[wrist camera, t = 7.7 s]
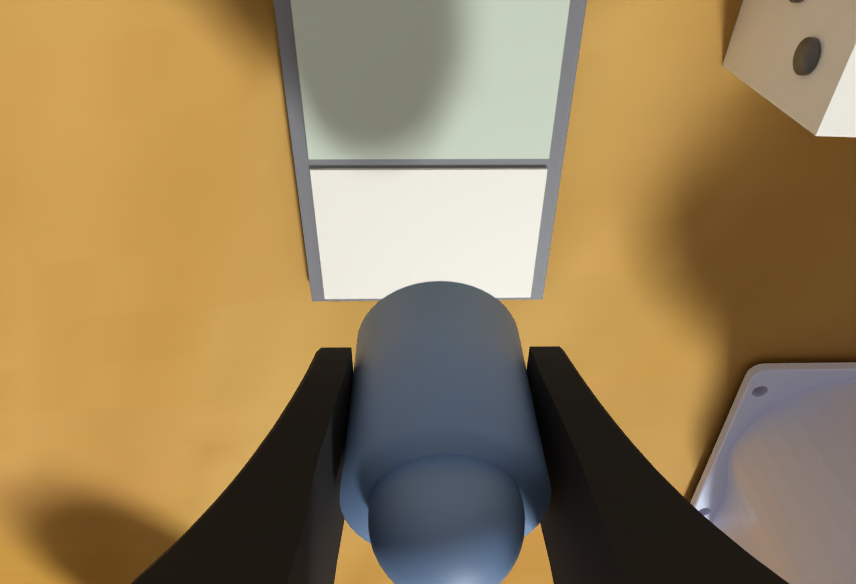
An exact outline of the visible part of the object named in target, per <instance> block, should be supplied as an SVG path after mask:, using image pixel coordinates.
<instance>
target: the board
mask: <svg viewBox="0 0 856 584" xmlns="http://www.w3.org/2000/svg"><path fill="white" fill-rule="evenodd" d="M273 3H274V11H275V18H276V26H277V34H278V42H279V49H280V57H281V65H282V72H283V80H284V88H285V96H286V103H287V111H288V119H289V126H290V134H291V142H292V150H293V157H294V165H295V173H296V180H297V188H298V196H299V204H300V211H301V219H302V227H303V234H304V242H305V250H306V258H307V265H308V273H309V281H310V288H311V296H312V301H380V300H382V299H383V298H384V297H386V296H387V295H389V294H391V293H393V292H394V291H396V290H399V289H401V288H404V287H406V286H410V285H413V284H417V283H423V282H429V281H451V282H458V283H463V284H467V285H470V286H474V287H476V288H479V289H481V290H483V291H485V292H487V293H489V294H490V295H492V296H493V297H495V298H496V299H497V300H527V299H543V293H544V286H545V279H546V273H547V266H548V259H549V252H550V246H551V239H552V232H553V225H554V219H555V212H556V205H557V198H558V192H559V185H560V178H561V171H562V165H563V158H564V151H565V144H566V138H567V131H568V124H569V117H570V111H571V104H572V97H573V90H574V84H575V77H576V70H577V63H578V57H579V50H580V43H581V36H582V30H583V23H584V16H585V9H586V3H587V0H273Z"/></svg>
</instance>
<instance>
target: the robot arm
mask: <svg viewBox="0 0 856 584" xmlns="http://www.w3.org/2000/svg"><path fill="white" fill-rule="evenodd" d="M527 376H528V380H529V385H530V390H531V394H532V399H533V404H534V409H535V413H536V418H537V423H538V428H539V432H540V437H541V442H542V446H543V451H544V456H545V461H546V465H547V470H548V475H549V480H550V485H551V501H550V505H549V508H548V510H547V512H546V514H545V516H544V518H543V519H542V520H541V522H540V524H541V528H542V532H543V536H544V540H545V545H546V549H547V553H548V557H549V561H550V566H551V571H552V577H553V582H554V584H856V362H839V363H763V364H758V365H755V366H753V367H752V368H750V369H749V370H748V372H747V373H746V375H745V377H744V379H743V382H742V384H741V386H740V389H739V391H738V393H737V396H736V398H735V400H734V403H733V405H732V407H731V409H730V412H729V414H728V416H727V419H726V421H725V423H724V426H723V428H722V430H721V433H720V435H719V437H718V440H717V442H716V444H715V447H714V449H713V451H712V454H711V456H710V458H709V460H708V463H707V465H706V467H705V470H704V472H703V474H702V477H701V479H700V481H699V484H698V486H697V488H696V491H695V493H694V495H693V498H692V500H691V502H690V503H689V502H688V501H687V500H686V499H685V498H684V497H683V496H682V495H681V494H680V493H679V492H678V491H677V490H676V489H675V488H674V487H673V486H672V485H671V484H670V483H669V482H668V481H667V480H666V479H665V478H664V477H663V476H662V475H661V474H660V473H659V472H658V471H657V470H656V469H655V468H654V467H653V465H652V464H651V463H650V462H649V461H648V460H647V459H646V458H645V457H644V456H643V454H642V453H641V452H640V451H639V450H638V449H637V448H636V446H635V445H634V444H633V443H632V442H631V441H630V440H629V438H628V437H627V436H626V435H625V434H624V432H623V431H622V430H621V429H620V428H619V426H618V425H617V424H616V422H615V421H614V420H613V419H612V417H611V416H610V415H609V414H608V412H607V411H606V410H605V409H604V407H603V406H602V405H601V403H600V402H599V401H598V399H597V398H596V397H595V395H594V394H593V393H592V391H591V390H590V388H589V387H588V386H587V384H586V383H585V381H584V380H583V379H582V377H581V376H580V374H579V373H578V371H577V370H576V368H575V367H574V365H573V364H572V362H571V361H570V359H569V358H568V356H567V355H566V353H565V352H564V350H563V349H562V348H561V347H530V350H529V357H528V364H527ZM352 382H353V363H352V351H351V348H320V349H319V350H318V351H317V352H316V354H315V356H314V358H313V360H312V362H311V364H310V366H309V368H308V370H307V372H306V374H305V376H304V378H303V380H302V381H301V383H300V385H299V387H298V388H297V390H296V392H295V393H294V395H293V397H292V398H291V400H290V402H289V403H288V405H287V406H286V408H285V409H284V411H283V413H282V414H281V416H280V417H279V419H278V420H277V422H276V423H275V425H274V426H273V428H272V429H271V431H270V432H269V434H268V435H267V436H266V438H265V439H264V440H263V442H262V443H261V445H260V446H259V447H258V449H257V450H256V452H255V453H254V454H253V456H252V457H251V458H250V460H249V461H248V462H247V464H246V465H245V466H244V467H243V469H242V470H241V471H240V472H239V474H238V475H237V476H236V477H235V479H234V480H233V481H232V482H231V483H230V485H229V486H228V487H227V488H226V489H225V490H224V492H223V493H222V494H221V495H220V496H219V497H218V499H217V500H216V501H215V502H214V503H213V504H212V505H211V506H210V507H209V508H208V509H207V510H206V512H205V513H204V514H203V515H202V516H201V517H200V518H199V519H198V520H197V521H196V522H195V523H194V524H193V525H192V526H191V528H190V529H189V530H188V531H187V532H186V533H185V534H184V535H183V536H182V537H181V538H180V539H179V540H178V541H177V542H175V543H174V544H173V545H172V546H171V547H170V548H169V549H168V550H167V551H166V552H165V553H164V554H163V555H162V556H160V557H159V558H158V559H157V560H156V561H155V562H154V563H153V564H152V565H151V566H149V567H148V568H147V569H146V570H145V571H144V572H143V573H142V574H141V575H140V576H139V577H137V578H136V579H135V580H134V581H133V582H132V583H131V584H334V580H335V572H336V565H337V559H338V553H339V547H340V542H341V536H342V530H343V525H344V519H345V518H344V516H343V513H342V511H341V507H340V487H341V478H342V469H343V460H344V451H345V443H346V434H347V425H348V416H349V408H350V399H351V390H352Z"/></svg>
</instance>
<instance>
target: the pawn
mask: <svg viewBox="0 0 856 584" xmlns="http://www.w3.org/2000/svg"><path fill="white" fill-rule="evenodd" d="M550 501H551V485H550V480H549V475H548V470H547V465H546V461H545V456H544V451H543V446H542V442H541V437H540V432H539V428H538V423H537V418H536V413H535V409H534V404H533V399H532V394H531V390H530V385H529V380H528V376H527V371H526V366H525V361H524V357H523V352H522V347H521V342H520V338H519V333H518V329H517V326H516V323H515V321H514V319H513V317H512V315H511V314H510V312H509V311H508V310H507V308H506V307H505V306H504V305H503V304H502V303H501V302H500V301H499V300H497V299H496V298H495V297H493V296H492V295H490V294H489V293H487V292H485V291H483V290H481V289H479V288H476V287H474V286H470V285H467V284H463V283H458V282H451V281H429V282H423V283H417V284H413V285H410V286H406V287H404V288H401V289H399V290H396V291H394V292H393V293H391V294H389V295H387V296H386V297H384V298H383V299H382V300H380V301H379V302H378V303H377V304H376V305H375V306H374V307H373V308H372V309H371V310H370V311H369V312H368V314H367V315H366V316H365V318H364V320H363V322H362V324H361V326H360V329H359V332H358V338H357V346H356V355H355V363H354V372H353V382H352V390H351V399H350V408H349V416H348V425H347V434H346V443H345V451H344V460H343V469H342V478H341V487H340V507H341V511H342V513H343V516H344V518H345V520H346V521H347V523H348V524H349V525H350V527H351V528H352V529H353V530H354V531H355V532H356V533H357V534H358V535H359V536H361V537H362V538H363V539H364V540H366V541H368V542H369V543H371V545H372V548H373V551H374V554H375V556H376V558H377V560H378V562H379V564H380V566H381V567H382V569H383V570H384V572H385V573H386V574H387V576H388V577H389V578H390V579H391V580H392V581H393V582H394V583H395V584H500V583H501V582H502V581H503V579H504V578H505V577H506V576H507V575H508V573H509V572H510V571H511V569H512V567H513V566H514V564H515V562H516V560H517V558H518V556H519V553H520V550H521V547H522V543H523V539H524V537H525V536H526V535H527V534H529V533H530V532H531V531H532V530H533V529H534V528H535V527H536V526H537V525H538V524H539V523H540V522H541V520H542V519H543V518H544V516H545V514H546V512H547V510H548V508H549V505H550Z"/></svg>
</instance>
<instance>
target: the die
mask: <svg viewBox="0 0 856 584" xmlns="http://www.w3.org/2000/svg"><path fill="white" fill-rule="evenodd" d="M722 66H723V67H724V68H725V69H727V70H728V71H729V72H731V73H732V74H733V75H735V76H736V77H737V78H739V79H740V80H741V81H743V82H744V83H745V84H747V85H748V86H749V87H751V88H752V89H753V90H755V91H756V92H757V93H759V94H760V95H761V96H763V97H764V98H765V99H767V100H768V101H769V102H771V103H772V104H773V105H775V106H776V107H777V108H779V109H780V110H781V111H783V112H784V113H785V114H787V115H788V116H790V117H791V118H792V119H794V120H795V121H796V122H798V123H799V124H800V125H802V126H803V127H804V128H806V129H807V130H808V131H810V132H811V133H812V134H814V135H815V136H831V137H856V0H743V2H742V5H741V8H740V12H739V15H738V18H737V21H736V24H735V27H734V30H733V34H732V37H731V40H730V43H729V46H728V49H727V52H726V55H725V59H724V62H723V65H722Z"/></svg>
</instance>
